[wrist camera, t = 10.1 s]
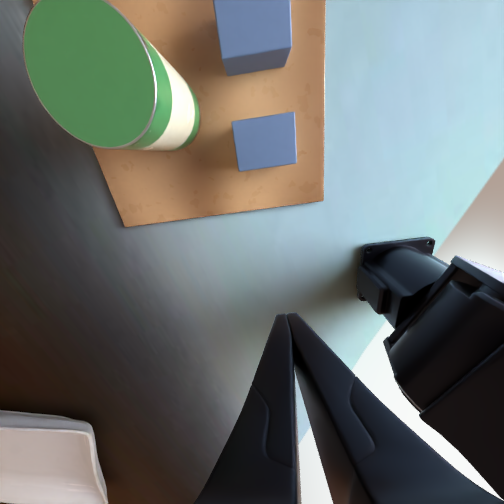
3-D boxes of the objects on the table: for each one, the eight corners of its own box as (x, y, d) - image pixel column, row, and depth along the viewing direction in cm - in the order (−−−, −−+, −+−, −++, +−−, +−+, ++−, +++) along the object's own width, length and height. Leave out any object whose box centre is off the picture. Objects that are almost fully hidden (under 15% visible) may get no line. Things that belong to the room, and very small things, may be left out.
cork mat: (324, -86, 12) (326, -94, 11) (322, 200, 19) (323, 200, 18) (27, -22, 13) (20, -28, 12) (127, 225, 20) (125, 227, 19)
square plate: (-26, 471, 41) (-52, 501, 37) (-94, 384, 30) (-141, 415, 26) (117, 484, 43) (105, 513, 40) (105, 407, 32) (87, 438, 28)
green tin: (247, 19, 10) (-29, -88, 5) (259, 134, 13) (74, 147, 7) (168, 81, 17) (7, 63, 11) (185, 151, 19) (56, 164, 13)
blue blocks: (281, 6, 13) (289, -33, 10) (290, 161, 17) (297, 163, 14) (218, 18, 13) (209, -17, 11) (240, 168, 17) (238, 172, 14)
